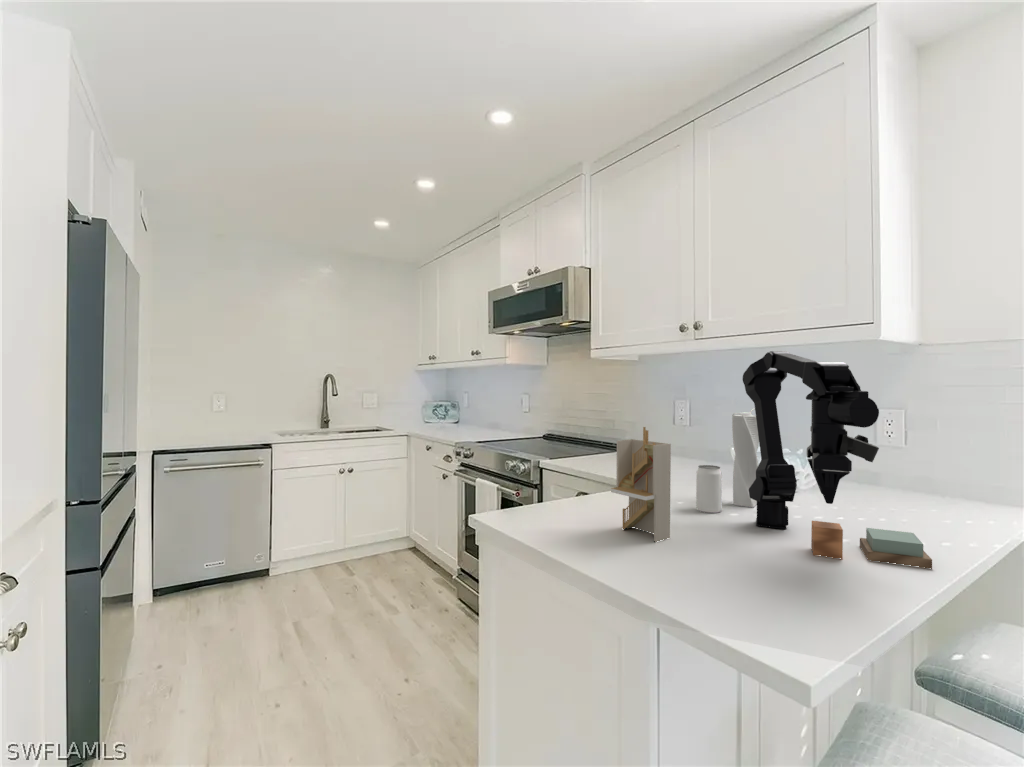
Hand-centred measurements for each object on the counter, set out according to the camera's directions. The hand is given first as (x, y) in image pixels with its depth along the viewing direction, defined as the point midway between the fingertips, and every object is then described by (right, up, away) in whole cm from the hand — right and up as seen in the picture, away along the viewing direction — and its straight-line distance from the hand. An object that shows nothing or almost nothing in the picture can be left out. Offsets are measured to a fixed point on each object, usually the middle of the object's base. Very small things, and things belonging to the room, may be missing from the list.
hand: (826, 498), depth 105 cm
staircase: (-35, -12, +13) cm, 39 cm away
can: (-11, -11, +34) cm, 38 cm away
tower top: (+12, -10, -2) cm, 16 cm away
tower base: (+13, -12, -2) cm, 17 cm away
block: (0, -11, 0) cm, 11 cm away
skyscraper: (+2, -11, +41) cm, 43 cm away
